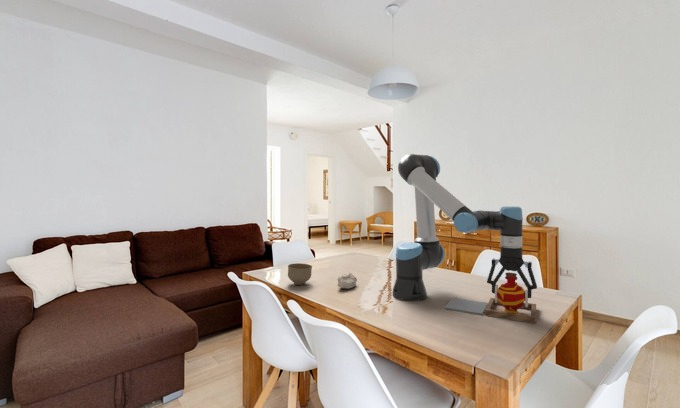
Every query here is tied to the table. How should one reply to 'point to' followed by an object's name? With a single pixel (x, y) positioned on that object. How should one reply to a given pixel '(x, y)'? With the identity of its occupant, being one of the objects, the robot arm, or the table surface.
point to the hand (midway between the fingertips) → (511, 303)
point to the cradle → (511, 315)
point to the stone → (347, 281)
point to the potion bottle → (511, 294)
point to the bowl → (299, 273)
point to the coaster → (466, 306)
